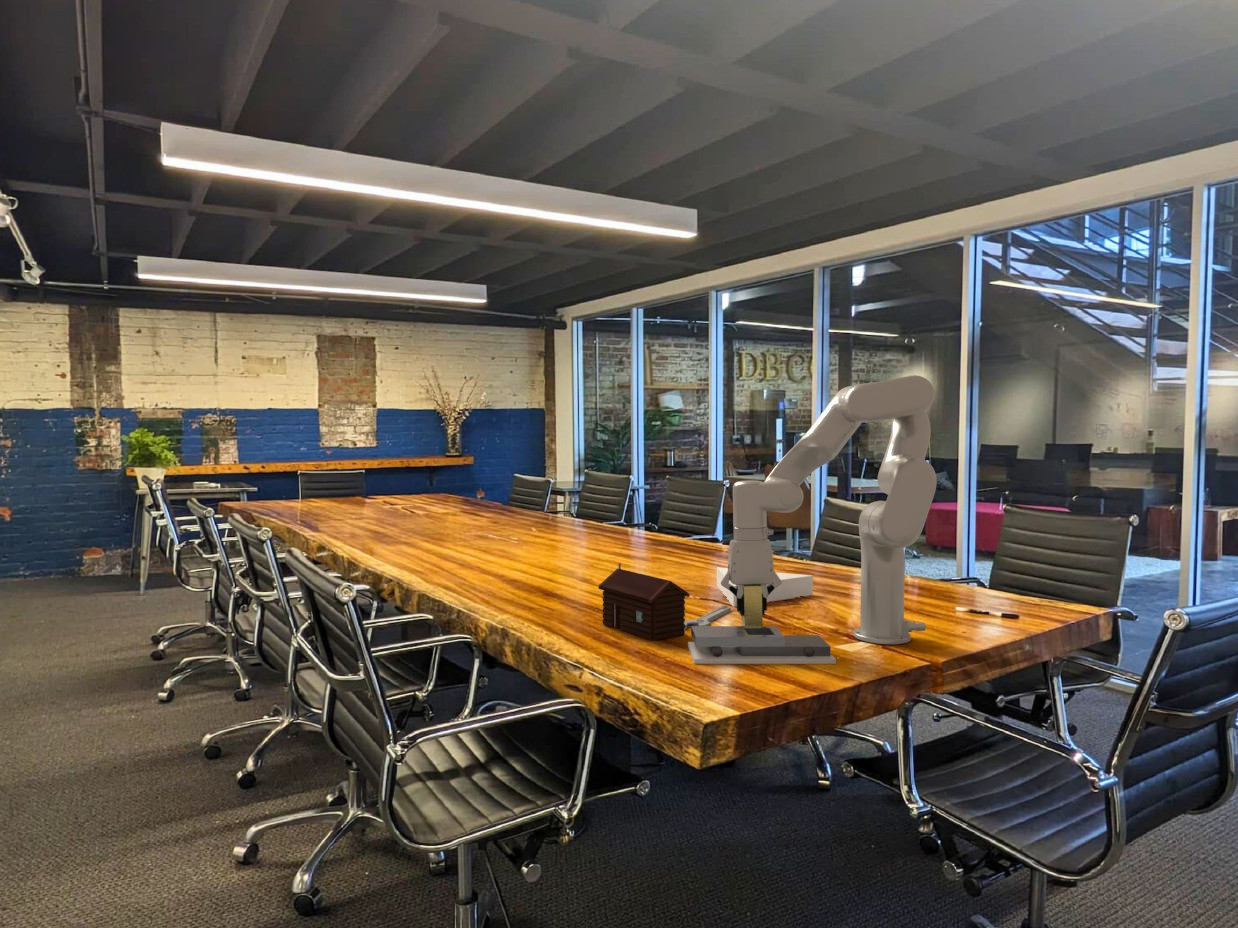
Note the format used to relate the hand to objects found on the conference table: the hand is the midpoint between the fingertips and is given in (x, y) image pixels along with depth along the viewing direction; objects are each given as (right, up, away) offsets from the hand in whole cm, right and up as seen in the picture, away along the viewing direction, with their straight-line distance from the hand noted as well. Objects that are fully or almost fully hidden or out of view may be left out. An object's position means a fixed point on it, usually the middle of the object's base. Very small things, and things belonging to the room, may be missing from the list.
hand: (751, 613), depth 175 cm
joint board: (-1, -6, -12) cm, 14 cm away
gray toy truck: (-1, -6, -12) cm, 14 cm away
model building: (-25, -6, +9) cm, 27 cm away
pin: (0, -3, 0) cm, 3 cm away
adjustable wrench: (-7, -6, +18) cm, 21 cm away
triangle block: (+7, -5, +52) cm, 53 cm away
